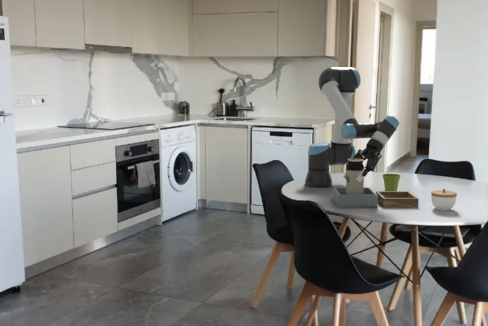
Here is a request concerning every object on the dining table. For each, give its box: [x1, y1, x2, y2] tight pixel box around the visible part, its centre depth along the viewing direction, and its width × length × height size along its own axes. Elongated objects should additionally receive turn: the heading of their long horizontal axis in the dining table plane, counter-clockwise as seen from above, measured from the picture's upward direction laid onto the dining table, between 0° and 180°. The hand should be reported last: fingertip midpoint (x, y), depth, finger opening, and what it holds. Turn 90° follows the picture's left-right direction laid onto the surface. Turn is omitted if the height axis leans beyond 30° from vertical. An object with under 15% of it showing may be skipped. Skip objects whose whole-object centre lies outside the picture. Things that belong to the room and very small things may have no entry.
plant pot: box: [381, 173, 402, 191], centre depth 280 cm, size 9×9×9 cm
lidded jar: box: [430, 188, 458, 212], centre depth 241 cm, size 11×11×9 cm
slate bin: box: [332, 186, 379, 209], centre depth 253 cm, size 18×18×6 cm
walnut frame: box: [375, 190, 420, 208], centre depth 254 cm, size 16×16×4 cm
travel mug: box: [345, 158, 365, 195], centre depth 252 cm, size 8×8×18 cm
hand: (351, 179), depth 250 cm, fingers closed on travel mug, 8 cm apart
